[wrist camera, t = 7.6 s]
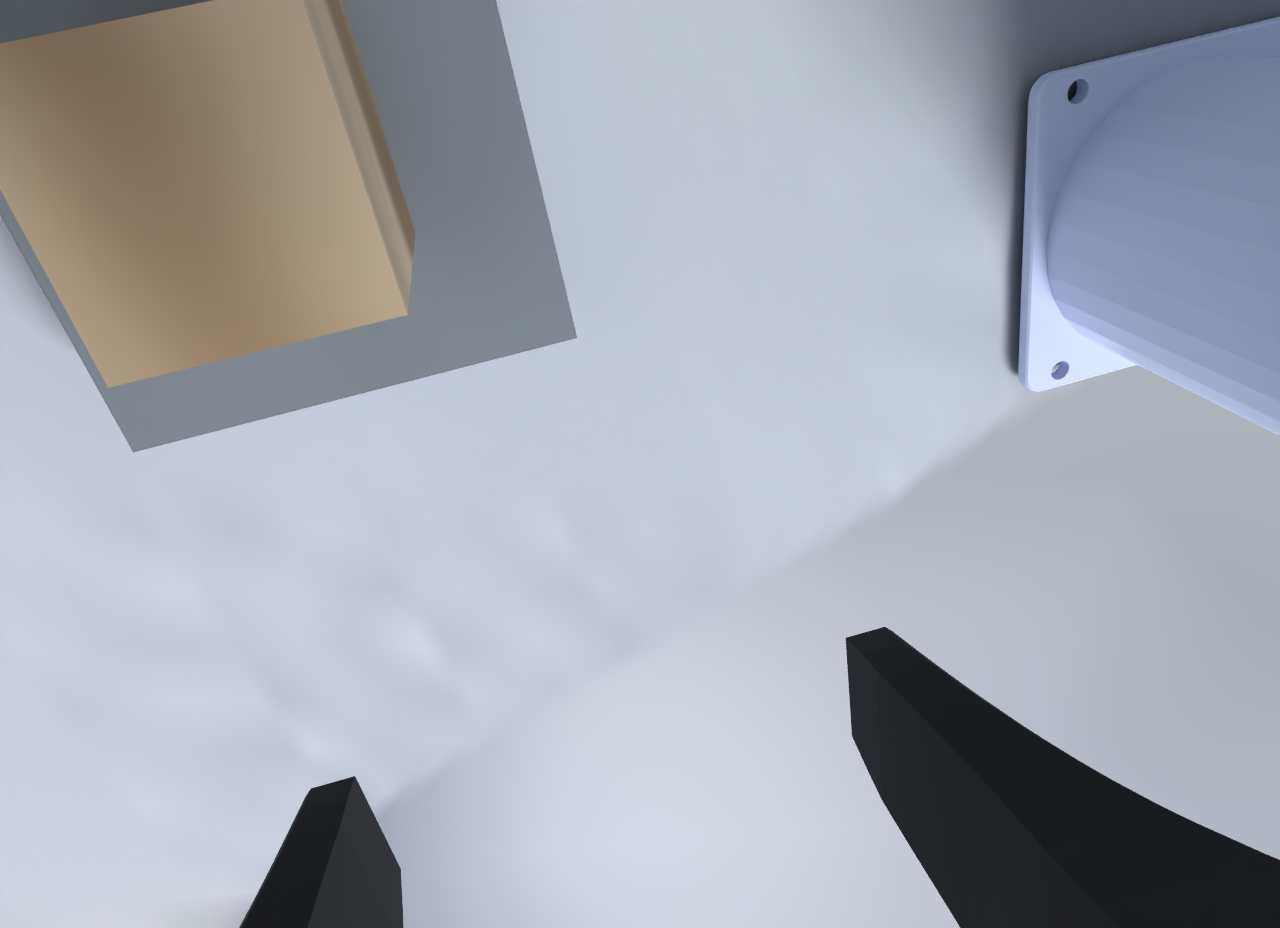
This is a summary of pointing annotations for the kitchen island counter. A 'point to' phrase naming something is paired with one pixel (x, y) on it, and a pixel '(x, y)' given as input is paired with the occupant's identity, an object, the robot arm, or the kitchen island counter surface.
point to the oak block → (204, 181)
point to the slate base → (439, 210)
